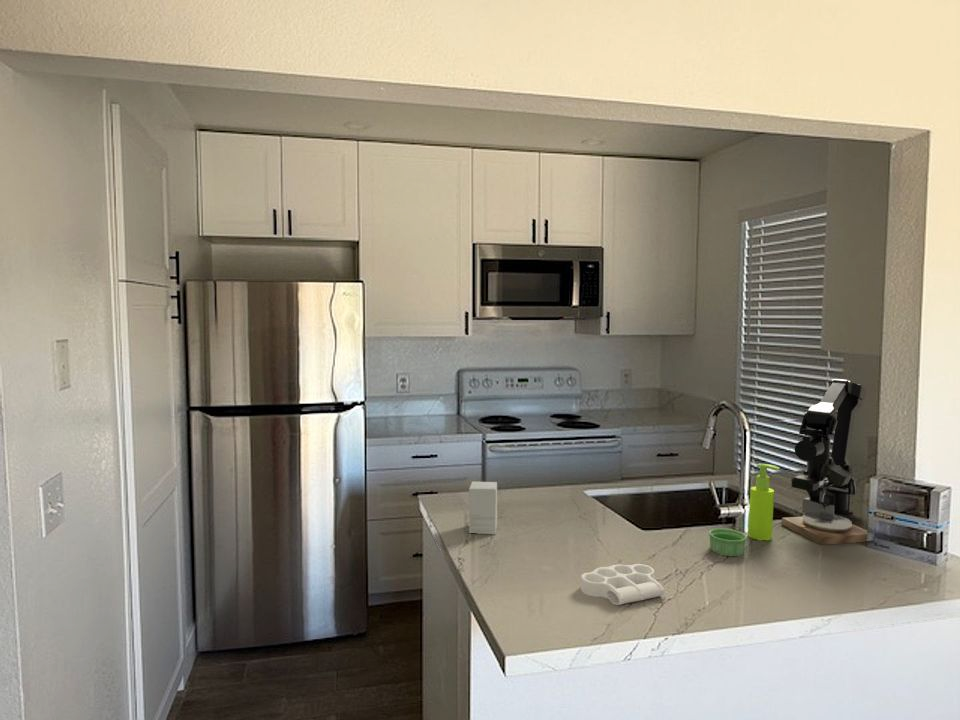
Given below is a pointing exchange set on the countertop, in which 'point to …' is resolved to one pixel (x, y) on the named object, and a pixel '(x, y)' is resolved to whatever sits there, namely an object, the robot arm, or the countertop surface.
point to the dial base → (825, 532)
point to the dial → (823, 516)
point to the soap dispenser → (761, 506)
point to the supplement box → (483, 507)
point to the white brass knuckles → (622, 583)
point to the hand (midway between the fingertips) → (816, 507)
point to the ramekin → (727, 541)
